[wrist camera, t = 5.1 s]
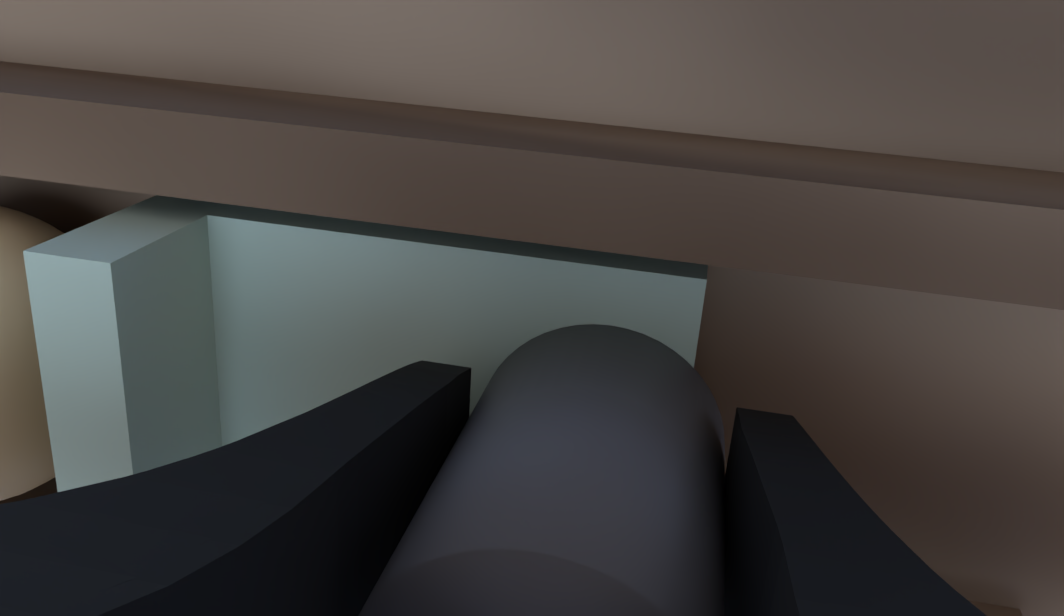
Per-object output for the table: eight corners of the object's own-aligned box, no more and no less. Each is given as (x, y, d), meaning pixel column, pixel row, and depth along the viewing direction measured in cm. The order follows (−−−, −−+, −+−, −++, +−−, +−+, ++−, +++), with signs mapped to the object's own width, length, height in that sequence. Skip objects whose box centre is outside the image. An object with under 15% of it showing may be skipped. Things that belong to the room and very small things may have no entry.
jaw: (701, 544, 13) (683, 949, 8) (212, 458, 14) (-98, 759, 9) (749, 249, 11) (770, 503, 6) (192, 180, 13) (-202, 343, 7)
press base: (1085, 745, 14) (1170, 933, 12) (-133, 507, 18) (-291, 609, 15) (1373, 8, 10) (1611, 26, 7) (-281, -116, 14) (-533, -134, 11)
